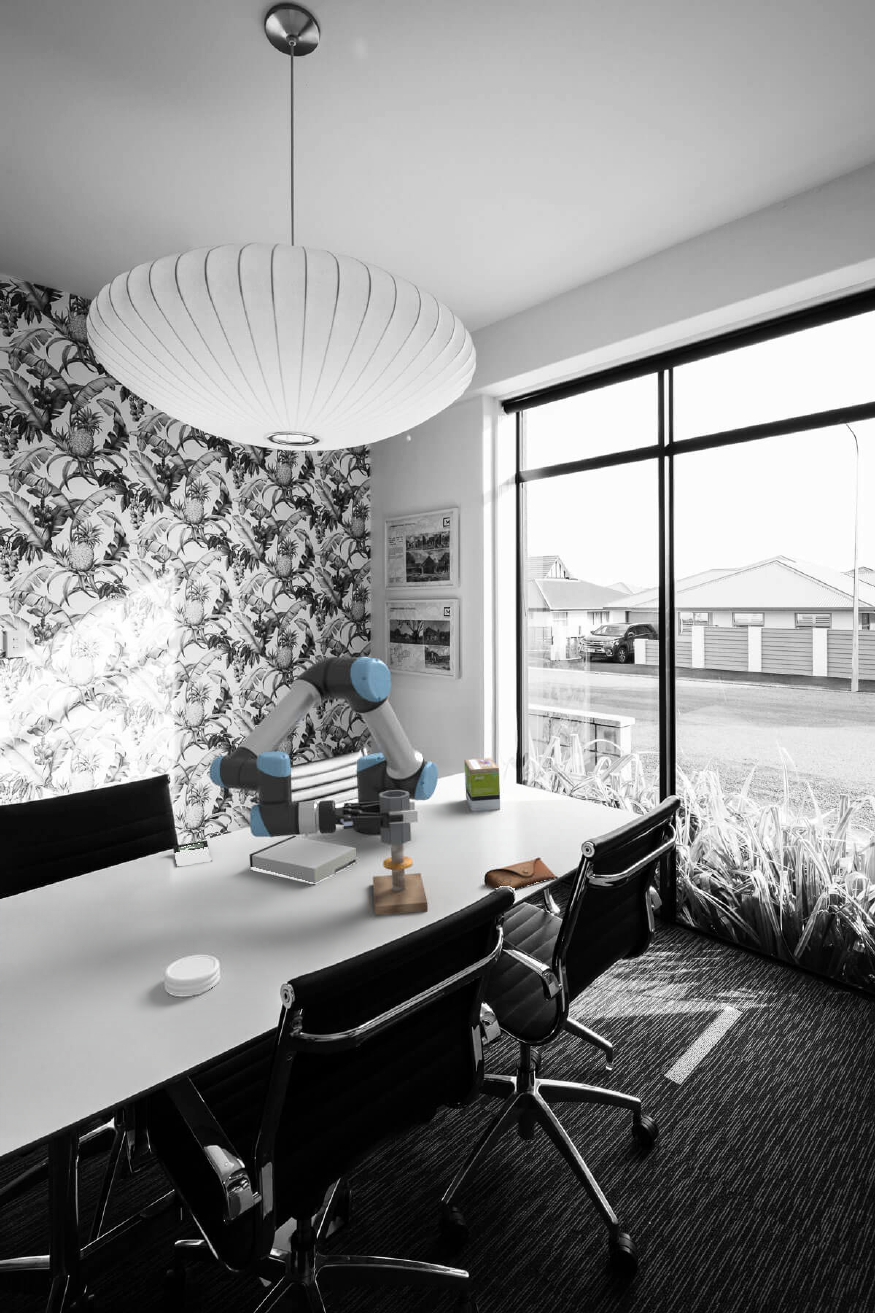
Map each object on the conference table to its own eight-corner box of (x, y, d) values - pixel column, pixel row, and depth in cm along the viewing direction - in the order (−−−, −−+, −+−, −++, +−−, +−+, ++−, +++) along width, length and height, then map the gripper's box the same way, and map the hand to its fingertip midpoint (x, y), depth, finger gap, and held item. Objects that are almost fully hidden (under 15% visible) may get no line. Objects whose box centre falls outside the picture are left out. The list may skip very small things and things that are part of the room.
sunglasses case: (504, 894, 172) (495, 867, 174) (489, 900, 177) (481, 873, 179) (561, 877, 181) (551, 851, 184) (545, 883, 186) (536, 858, 189)
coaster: (181, 1005, 129) (180, 986, 128) (154, 986, 135) (153, 968, 135) (230, 982, 136) (229, 964, 136) (202, 965, 143) (201, 948, 142)
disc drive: (294, 852, 208) (294, 835, 207) (357, 864, 196) (356, 846, 196) (250, 872, 193) (249, 854, 192) (314, 887, 181) (313, 868, 181)
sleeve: (381, 845, 167) (380, 798, 166) (380, 835, 174) (379, 791, 173) (411, 843, 168) (410, 797, 167) (409, 833, 175) (407, 789, 174)
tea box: (465, 799, 255) (463, 758, 254) (492, 798, 256) (491, 757, 255) (471, 812, 240) (470, 768, 239) (501, 810, 241) (500, 766, 240)
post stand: (375, 915, 163) (371, 818, 161) (373, 884, 181) (369, 796, 179) (427, 911, 164) (424, 814, 162) (420, 880, 182) (417, 793, 180)
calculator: (176, 868, 197) (176, 858, 197) (173, 855, 207) (173, 845, 207) (212, 862, 201) (211, 852, 200) (207, 850, 211) (206, 840, 211)
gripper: (321, 820, 179) (413, 814, 181) (316, 847, 159) (420, 840, 161) (320, 790, 178) (412, 785, 180) (315, 813, 158) (419, 807, 161)
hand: (415, 811), depth 171 cm, fingers closed on sleeve, 7 cm apart
